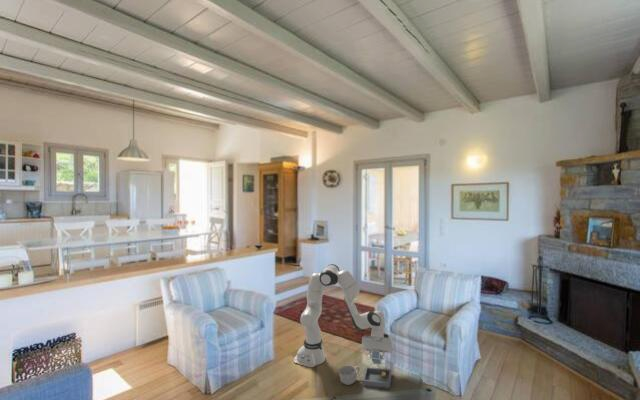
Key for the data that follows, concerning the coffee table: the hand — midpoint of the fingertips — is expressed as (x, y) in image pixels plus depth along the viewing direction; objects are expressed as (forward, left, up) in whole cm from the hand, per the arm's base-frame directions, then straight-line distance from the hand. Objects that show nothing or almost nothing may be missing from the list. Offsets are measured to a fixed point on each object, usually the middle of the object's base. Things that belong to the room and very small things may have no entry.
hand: (376, 358), depth 202 cm
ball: (+4, -1, -9) cm, 10 cm away
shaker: (0, +4, -3) cm, 6 cm away
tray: (0, -4, -11) cm, 12 cm away
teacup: (-16, -8, -12) cm, 21 cm away
